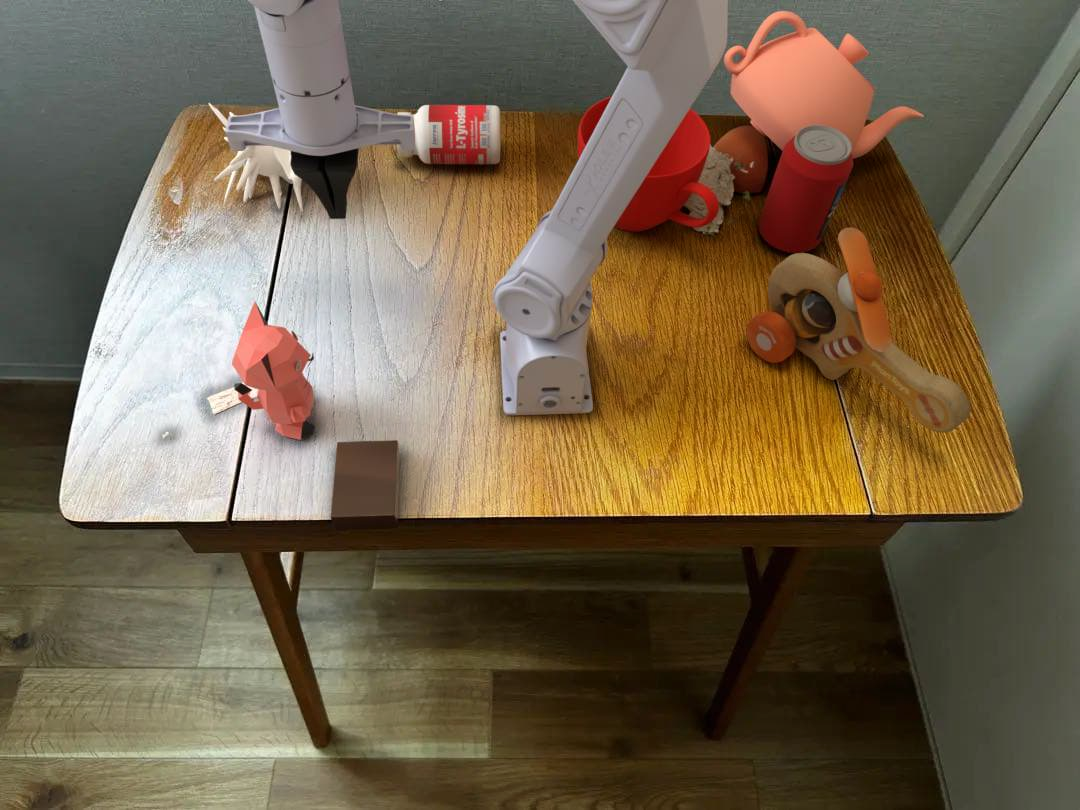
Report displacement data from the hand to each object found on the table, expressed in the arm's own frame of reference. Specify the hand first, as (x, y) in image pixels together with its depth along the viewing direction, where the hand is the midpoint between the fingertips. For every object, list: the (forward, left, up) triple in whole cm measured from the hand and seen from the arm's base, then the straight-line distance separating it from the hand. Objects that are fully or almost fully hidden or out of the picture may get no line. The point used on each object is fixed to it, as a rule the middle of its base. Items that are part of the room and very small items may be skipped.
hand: (338, 211), depth 75 cm
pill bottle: (+20, -15, -7) cm, 26 cm away
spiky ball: (+14, +10, -11) cm, 20 cm away
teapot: (+18, -45, -7) cm, 49 cm away
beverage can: (+7, -45, -11) cm, 47 cm away
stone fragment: (+12, -37, -5) cm, 40 cm away
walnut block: (-19, -3, -9) cm, 21 cm away
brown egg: (+17, -40, -6) cm, 43 cm away
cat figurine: (-15, +5, -10) cm, 19 cm away
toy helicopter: (-12, -45, -11) cm, 48 cm away
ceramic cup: (+9, -30, -10) cm, 33 cm away
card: (-14, +12, -11) cm, 21 cm away
